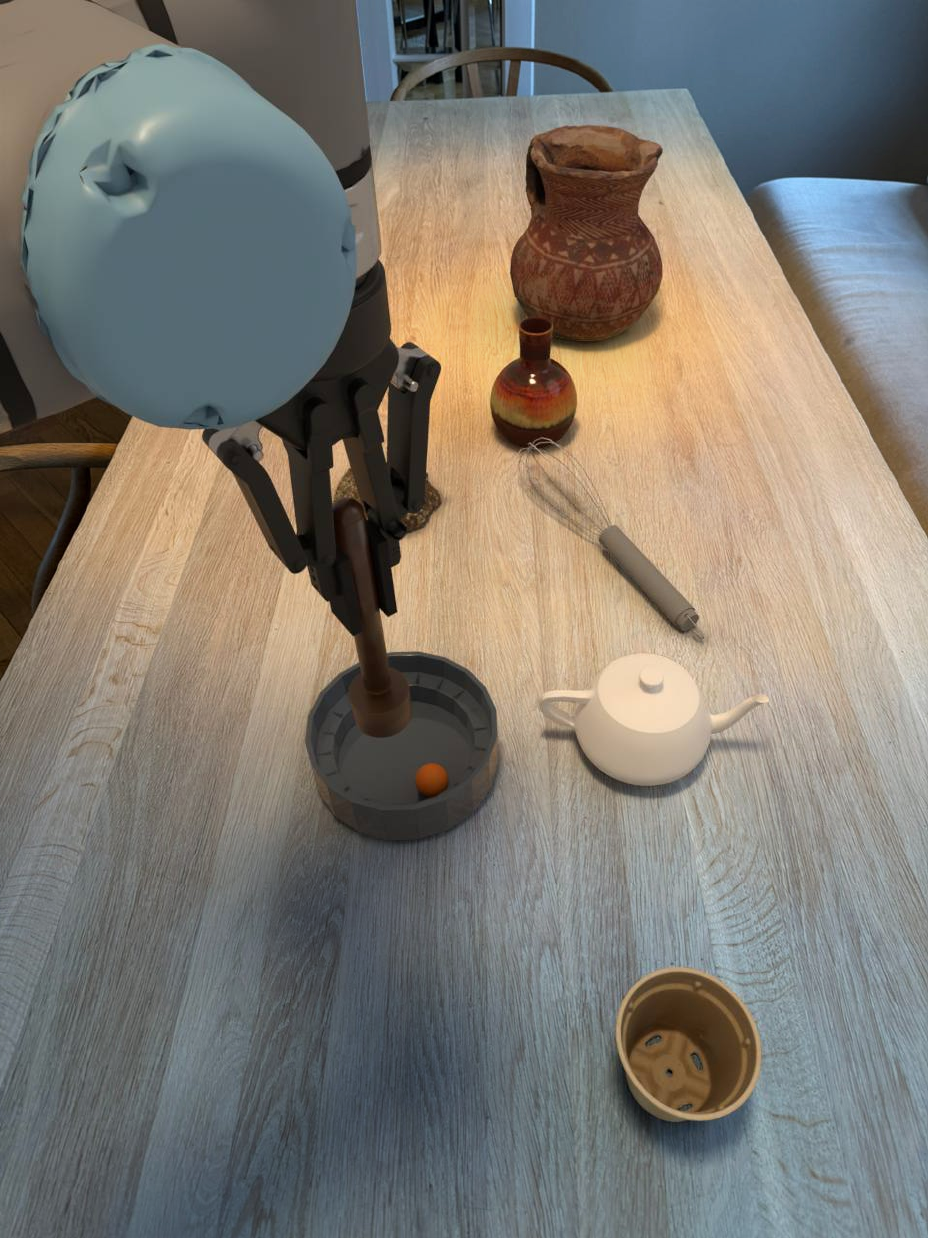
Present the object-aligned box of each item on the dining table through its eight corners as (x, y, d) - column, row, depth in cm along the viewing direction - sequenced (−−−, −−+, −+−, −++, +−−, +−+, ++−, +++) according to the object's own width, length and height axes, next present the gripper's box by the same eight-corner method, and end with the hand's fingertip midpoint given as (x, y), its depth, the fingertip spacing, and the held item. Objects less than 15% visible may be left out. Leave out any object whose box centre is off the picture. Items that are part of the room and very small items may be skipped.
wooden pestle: (374, 748, 64) (330, 538, 49) (343, 709, 67) (292, 497, 51) (423, 718, 66) (397, 505, 50) (391, 681, 68) (357, 466, 53)
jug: (671, 300, 138) (697, 127, 119) (631, 370, 125) (654, 189, 107) (538, 276, 144) (544, 108, 126) (488, 340, 132) (486, 164, 113)
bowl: (380, 881, 75) (373, 848, 70) (283, 748, 84) (271, 711, 80) (534, 775, 81) (536, 738, 77) (428, 662, 91) (424, 624, 86)
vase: (587, 419, 118) (596, 312, 106) (554, 466, 111) (560, 358, 100) (512, 399, 121) (513, 294, 110) (476, 444, 115) (473, 336, 103)
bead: (429, 809, 78) (426, 792, 76) (409, 786, 80) (407, 768, 78) (456, 791, 80) (454, 773, 77) (436, 768, 81) (434, 751, 79)
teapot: (743, 695, 87) (766, 627, 79) (759, 806, 79) (787, 742, 71) (539, 684, 88) (543, 616, 81) (535, 792, 80) (538, 728, 73)
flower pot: (761, 1076, 64) (791, 1039, 58) (683, 1182, 60) (705, 1156, 53) (657, 982, 69) (673, 938, 62) (577, 1075, 64) (586, 1038, 58)
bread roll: (319, 528, 105) (313, 496, 101) (355, 464, 113) (351, 432, 109) (422, 546, 102) (419, 514, 99) (451, 479, 110) (450, 447, 106)
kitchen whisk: (679, 656, 90) (688, 615, 86) (506, 478, 110) (507, 437, 106) (725, 633, 92) (737, 591, 87) (548, 462, 112) (550, 421, 108)
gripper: (183, 360, 35) (291, 705, 53) (482, 245, 41) (490, 593, 58) (114, 288, 39) (235, 631, 57) (394, 193, 45) (426, 532, 63)
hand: (364, 611), depth 58 cm, fingers closed on wooden pestle, 2 cm apart
